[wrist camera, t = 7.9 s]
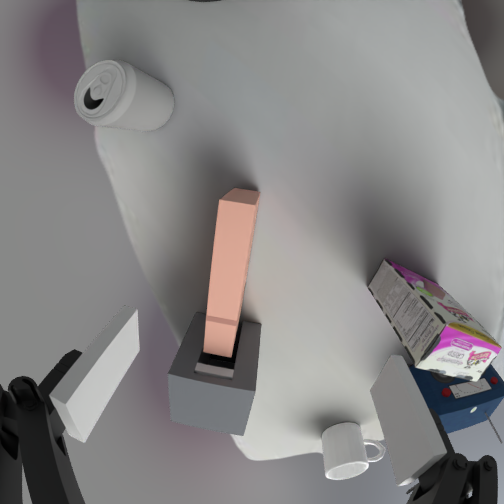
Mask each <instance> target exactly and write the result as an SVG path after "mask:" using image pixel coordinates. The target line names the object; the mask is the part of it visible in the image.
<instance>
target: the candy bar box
mask: <svg viewBox="0 0 504 504" xmlns="http://www.w3.org/2000/svg"><path fill="white" fill-rule="evenodd" d="M368 289H369V291H370V292H371V294H372V295H373V297H374V298H375V300H376V302H377V303H378V305H379V306H380V308H381V309H382V311H383V313H384V314H385V316H386V317H387V319H388V320H389V322H390V324H391V326H392V327H393V329H394V330H395V332H396V334H397V336H398V337H399V339H400V341H401V342H402V344H403V346H404V347H405V349H406V350H407V352H408V354H409V356H410V358H411V359H412V361H413V363H414V365H415V367H416V368H420V369H424V370H428V371H432V372H436V373H440V374H444V375H448V376H453V377H457V378H461V379H466V380H470V381H475V382H477V380H478V379H479V378H480V377H481V375H482V374H483V373H484V372H485V370H486V369H487V368H488V367H489V365H490V364H491V363H492V360H493V359H495V358H496V356H497V355H498V353H499V351H500V349H501V348H502V347H501V346H500V345H499V344H498V343H497V342H496V341H495V339H494V338H493V337H492V336H491V335H490V334H489V333H488V332H487V331H486V330H485V329H484V328H483V327H482V326H481V325H480V324H479V323H478V322H477V321H476V320H475V319H474V318H473V317H472V316H471V315H470V314H469V313H468V312H467V311H466V310H465V309H464V308H463V307H462V306H461V305H460V304H459V303H457V302H456V301H455V300H454V299H453V298H452V297H451V296H450V295H449V294H448V293H447V292H446V291H445V290H444V289H443V288H442V287H440V286H439V285H438V284H436V283H434V282H432V281H430V280H428V279H426V278H424V277H422V276H420V275H418V274H416V273H414V272H412V271H410V270H408V269H406V268H404V267H402V266H400V265H398V264H396V263H394V262H392V261H389V260H388V259H386V258H384V260H383V261H382V263H381V264H380V267H379V269H378V271H377V273H376V274H375V276H374V278H373V279H372V281H371V283H370V285H369V286H368Z"/></svg>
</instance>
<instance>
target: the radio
mask: <svg viewBox="0 0 504 504" xmlns="http://www.w3.org/2000/svg"><path fill="white" fill-rule="evenodd" d="M409 370H410V372H411V374H412V376H413V378H414V380H415V382H416V384H417V386H418V388H419V390H420V392H421V394H422V396H423V398H424V400H425V402H426V405H427V407H428V409H429V408H432V409H433V410H434V411H435V412H436V413H437V414H438V416H439V418H440V420H441V422H442V424H443V426H444V431H446V433H451V432H454V431H457V430H461V429H464V428H467V427H469V426H473V425H475V424H478V423H480V422H483V421H486V420H487V419H488V420H489V422H490V424H491V425H492V427H493V429H494V431H495V433H496V435H497V436H498V438H499V440H500V442H501V443H502V441H501V439H500V437H499V435H498V433H497V431H496V429H495V428H494V426H493V424H492V422H491V420H490V419H489V416H491V414H492V413H493V412H494V410H495V409H496V408H497V406H498V405H499V403H500V402H501V401H502V399H503V398H504V381H503V380H502V378H501V377H500V376H499V374H498V373H497V372H496V370H495V369H494V368H493V366H492V365H491V364H490V365H489V367H488V368H487V369H486V370H485V372H484V373H483V374H482V375H481V377H480V378H479V379H478V380H477V382H475V381H470V380H466V379H461V378H457V377H453V376H448V375H444V374H440V373H436V372H432V371H428V370H424V369H420V368H416V367H415V365H414V364H413V365H412V366H410V367H409Z"/></svg>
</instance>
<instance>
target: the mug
mask: <svg viewBox="0 0 504 504" xmlns="http://www.w3.org/2000/svg"><path fill="white" fill-rule="evenodd" d="M321 438H322V447H323V457H324V466H325V476H326V477H327V478H329V479H334V480H340V479H347V478H351V477H354V476H357V475H359V474H361V473H363V472H364V471H365V470H366V469H367V468H368V465H369V464H368V462H376V461H378V460H380V459H381V458H383V455H384V453H385V450H386V448H385V447H384V446H383V445H382V444H380V442H378V441H377V440H371V439H365V440H363V436H362V432H361V428H360V426H359V425H358V424H356V423H351V422H345V423H339V424H336V425H333V426H331V427H329V428H327V429H326V430H325V431H324V432H323V434H322V436H321ZM364 444H372V445H375V446H376V447H377V448H378V449H379V450H380V453H379V455H377V456H375V457H373V458H367V454H366V449H365V445H364Z"/></svg>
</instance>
